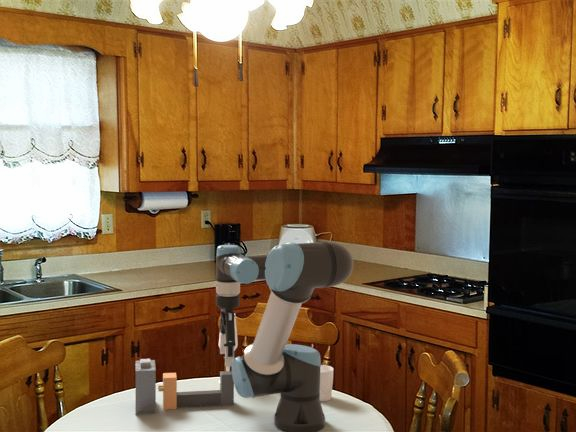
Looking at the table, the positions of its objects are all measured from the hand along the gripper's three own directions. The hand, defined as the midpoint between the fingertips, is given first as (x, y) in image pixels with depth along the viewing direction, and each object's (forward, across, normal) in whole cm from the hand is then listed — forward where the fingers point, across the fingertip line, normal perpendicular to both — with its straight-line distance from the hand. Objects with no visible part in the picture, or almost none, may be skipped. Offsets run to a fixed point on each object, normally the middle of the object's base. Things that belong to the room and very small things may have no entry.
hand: (226, 359), depth 230 cm
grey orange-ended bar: (+14, +1, -10) cm, 17 cm away
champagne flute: (+15, -22, +3) cm, 26 cm away
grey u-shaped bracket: (+14, 0, -25) cm, 29 cm away
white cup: (+14, 0, +31) cm, 34 cm away
